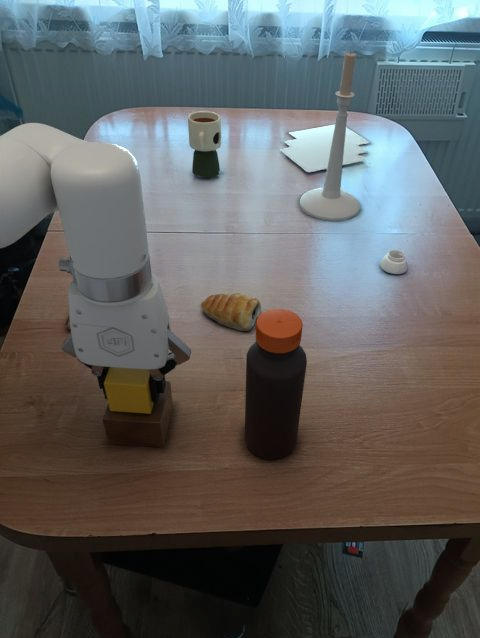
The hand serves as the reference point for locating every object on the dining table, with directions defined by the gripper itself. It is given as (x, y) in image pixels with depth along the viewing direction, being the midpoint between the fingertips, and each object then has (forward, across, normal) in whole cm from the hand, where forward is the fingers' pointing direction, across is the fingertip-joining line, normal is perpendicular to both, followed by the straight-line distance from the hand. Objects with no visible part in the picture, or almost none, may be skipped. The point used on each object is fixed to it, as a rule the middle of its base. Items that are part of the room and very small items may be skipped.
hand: (134, 391), depth 67 cm
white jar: (+6, +38, +40) cm, 56 cm away
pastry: (+7, +10, +23) cm, 26 cm away
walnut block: (+6, 0, 0) cm, 6 cm away
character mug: (+7, -1, +73) cm, 73 cm away
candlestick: (+6, +27, +62) cm, 68 cm away
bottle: (+6, +17, -1) cm, 18 cm away
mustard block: (+1, 0, 0) cm, 1 cm away
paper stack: (+6, +27, +92) cm, 96 cm away
